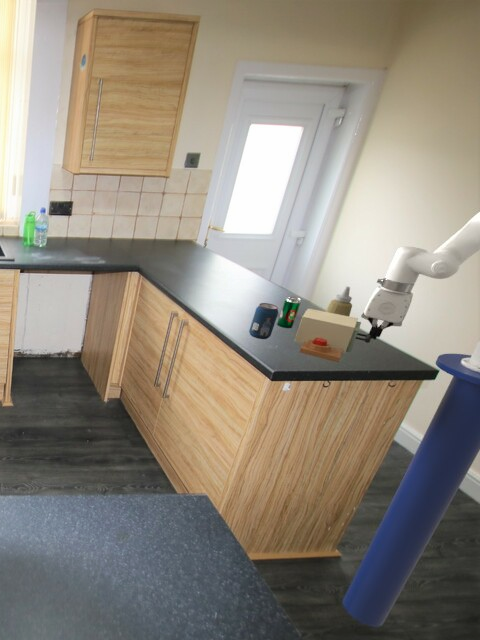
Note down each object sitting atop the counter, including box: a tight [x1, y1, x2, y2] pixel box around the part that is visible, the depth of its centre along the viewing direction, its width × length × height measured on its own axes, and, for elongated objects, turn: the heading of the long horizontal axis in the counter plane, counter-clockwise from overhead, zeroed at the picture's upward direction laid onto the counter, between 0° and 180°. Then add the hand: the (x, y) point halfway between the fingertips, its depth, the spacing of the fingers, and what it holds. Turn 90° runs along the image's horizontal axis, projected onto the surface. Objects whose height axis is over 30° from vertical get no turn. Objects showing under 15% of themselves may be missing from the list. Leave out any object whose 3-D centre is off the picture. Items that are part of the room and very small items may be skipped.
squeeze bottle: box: [325, 286, 353, 317], centre depth 175 cm, size 8×8×18 cm
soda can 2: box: [276, 296, 302, 329], centre depth 179 cm, size 5×5×12 cm
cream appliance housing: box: [293, 308, 359, 355], centre depth 167 cm, size 15×13×10 cm
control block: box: [298, 340, 343, 363], centre depth 159 cm, size 11×8×4 cm
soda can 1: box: [248, 302, 279, 340], centre depth 170 cm, size 7×7×12 cm
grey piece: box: [345, 320, 372, 353], centre depth 164 cm, size 18×12×8 cm, turn 49°
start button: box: [313, 338, 327, 346], centre depth 159 cm, size 4×4×2 cm
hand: (372, 337), depth 159 cm, fingers closed
